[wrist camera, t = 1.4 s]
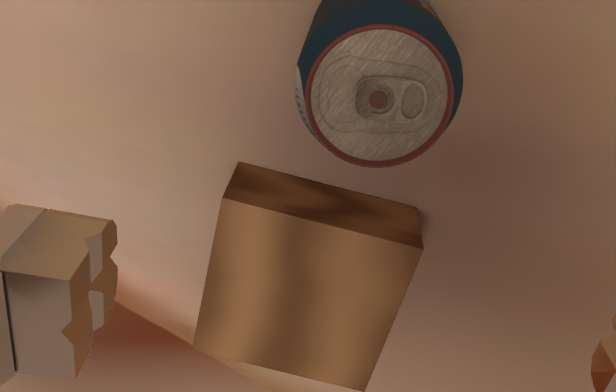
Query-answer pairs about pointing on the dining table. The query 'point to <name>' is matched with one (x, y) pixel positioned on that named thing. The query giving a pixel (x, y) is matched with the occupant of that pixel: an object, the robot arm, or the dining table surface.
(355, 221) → the block
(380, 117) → the soda can
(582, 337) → the dining table surface
